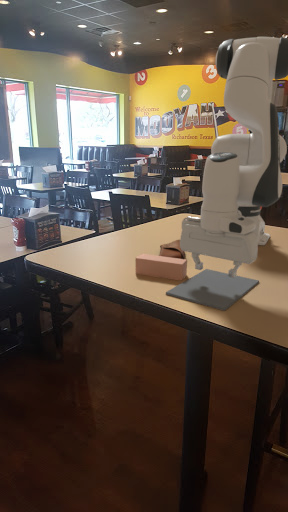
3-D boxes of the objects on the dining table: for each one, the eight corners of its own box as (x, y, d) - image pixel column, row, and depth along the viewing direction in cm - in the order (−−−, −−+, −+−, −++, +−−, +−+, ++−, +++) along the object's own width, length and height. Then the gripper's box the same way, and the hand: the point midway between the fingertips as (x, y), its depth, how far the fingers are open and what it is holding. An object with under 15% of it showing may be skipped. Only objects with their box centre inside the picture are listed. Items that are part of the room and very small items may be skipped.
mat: (206, 270, 112) (206, 268, 112) (258, 282, 103) (259, 280, 103) (165, 294, 95) (165, 292, 95) (224, 310, 86) (224, 308, 86)
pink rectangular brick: (141, 269, 114) (141, 253, 112) (186, 276, 109) (187, 259, 107) (135, 274, 110) (135, 257, 109) (181, 281, 105) (182, 264, 103)
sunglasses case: (158, 244, 133) (171, 230, 131) (173, 257, 134) (186, 243, 132) (156, 260, 116) (171, 244, 114) (174, 274, 117) (188, 259, 115)
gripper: (176, 217, 98) (174, 268, 102) (253, 228, 86) (247, 285, 90) (188, 213, 102) (186, 262, 107) (262, 223, 91) (257, 277, 95)
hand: (215, 272), depth 98 cm, fingers open, 8 cm apart
